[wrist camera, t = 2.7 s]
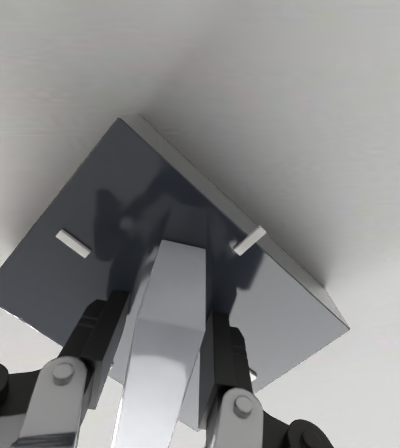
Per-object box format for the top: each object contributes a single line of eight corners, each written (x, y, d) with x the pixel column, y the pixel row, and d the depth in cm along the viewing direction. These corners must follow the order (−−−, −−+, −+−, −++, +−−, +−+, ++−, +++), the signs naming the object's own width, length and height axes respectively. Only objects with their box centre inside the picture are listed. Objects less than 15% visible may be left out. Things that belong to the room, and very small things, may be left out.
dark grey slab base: (13, 267, 16) (-30, 304, 13) (146, 102, 12) (128, 102, 10) (192, 388, 19) (189, 440, 16) (335, 283, 16) (364, 324, 13)
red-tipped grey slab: (161, 238, 12) (134, 322, 7) (206, 248, 12) (206, 337, 7) (135, 366, 14) (103, 484, 10) (171, 373, 14) (156, 492, 10)
